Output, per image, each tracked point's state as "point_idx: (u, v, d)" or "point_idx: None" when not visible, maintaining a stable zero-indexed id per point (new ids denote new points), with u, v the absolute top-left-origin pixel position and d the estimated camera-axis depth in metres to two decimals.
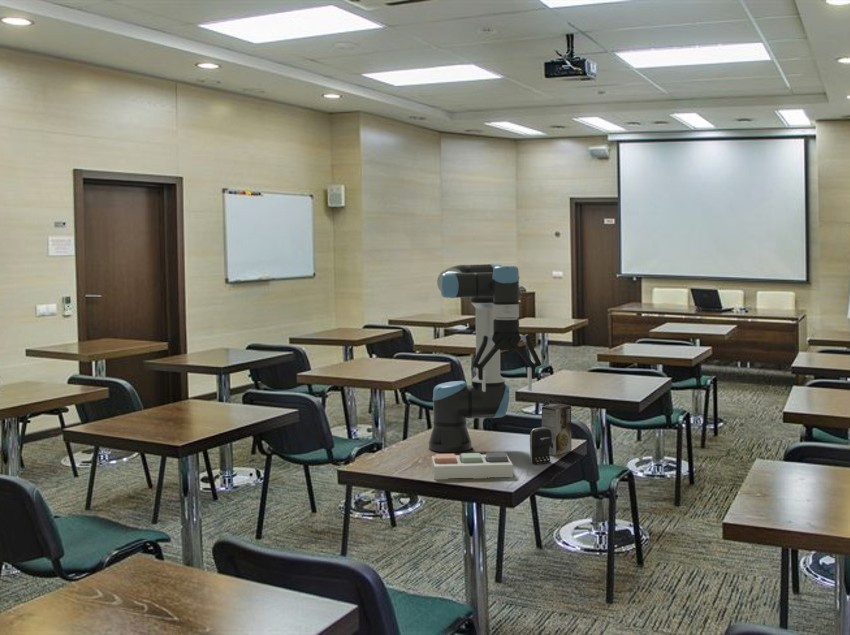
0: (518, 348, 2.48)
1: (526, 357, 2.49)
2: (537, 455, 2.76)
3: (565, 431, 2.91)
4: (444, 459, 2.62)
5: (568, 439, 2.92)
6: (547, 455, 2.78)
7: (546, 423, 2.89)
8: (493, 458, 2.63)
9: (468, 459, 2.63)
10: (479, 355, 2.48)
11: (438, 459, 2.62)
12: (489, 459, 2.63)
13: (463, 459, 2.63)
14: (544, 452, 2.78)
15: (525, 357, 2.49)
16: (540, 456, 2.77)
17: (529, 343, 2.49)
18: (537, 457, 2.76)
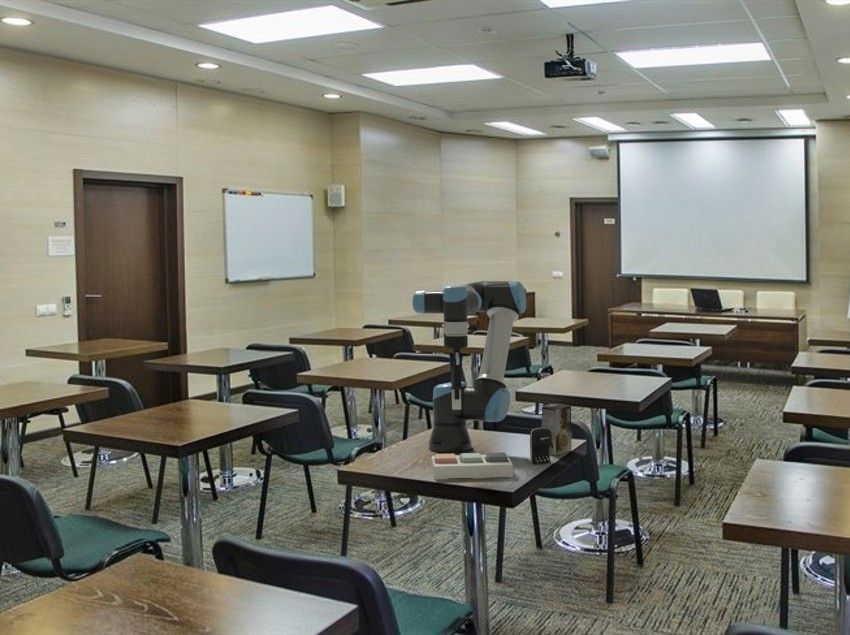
0: (451, 365, 2.67)
1: None
2: (537, 455, 2.76)
3: (565, 431, 2.91)
4: (444, 459, 2.62)
5: (568, 439, 2.92)
6: (547, 455, 2.78)
7: (546, 423, 2.89)
8: (493, 458, 2.63)
9: (468, 459, 2.63)
10: (451, 372, 2.73)
11: (438, 459, 2.62)
12: (489, 459, 2.63)
13: (463, 459, 2.63)
14: (544, 452, 2.78)
15: None
16: (540, 456, 2.77)
17: (453, 365, 2.64)
18: (537, 457, 2.76)
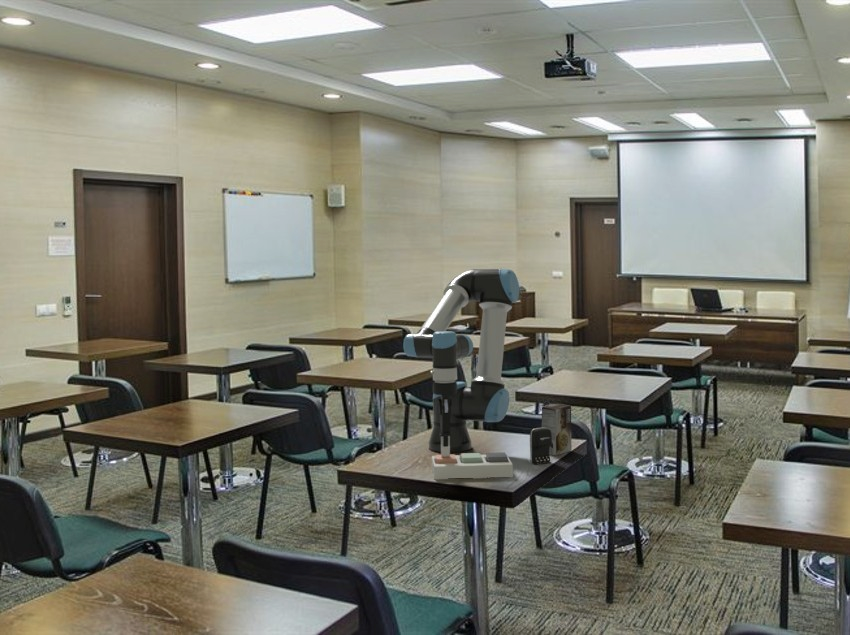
0: (439, 412, 2.63)
1: (441, 423, 2.63)
2: (537, 455, 2.76)
3: (565, 431, 2.91)
4: (444, 460, 2.63)
5: (568, 439, 2.92)
6: (547, 455, 2.78)
7: (546, 423, 2.89)
8: (493, 458, 2.63)
9: (468, 459, 2.63)
10: (440, 419, 2.68)
11: (438, 460, 2.62)
12: (489, 459, 2.63)
13: (463, 459, 2.63)
14: (544, 452, 2.78)
15: (441, 423, 2.63)
16: (540, 456, 2.77)
17: (442, 413, 2.60)
18: (537, 457, 2.76)
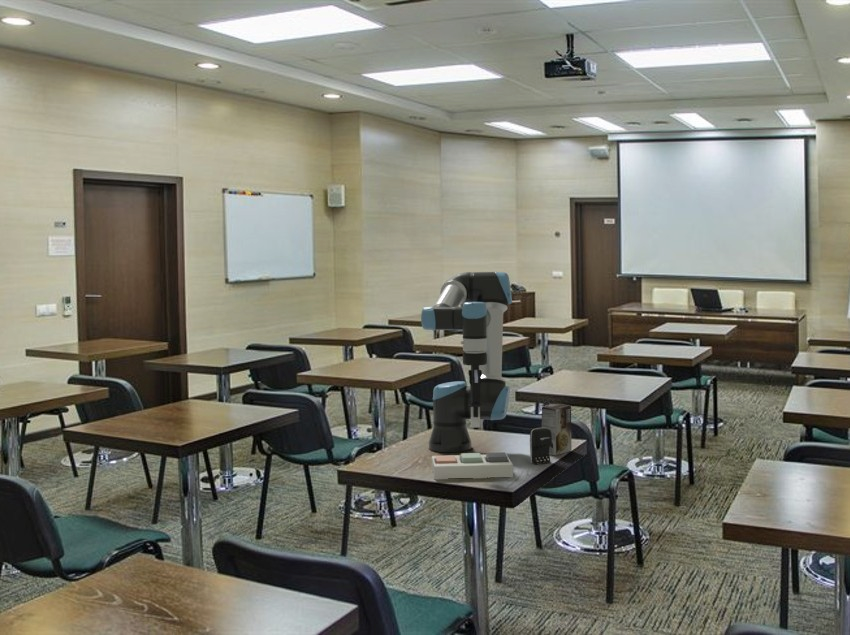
0: (469, 382, 2.63)
1: None
2: (537, 455, 2.76)
3: (565, 431, 2.91)
4: (444, 462, 2.63)
5: (568, 439, 2.92)
6: (547, 455, 2.78)
7: (546, 423, 2.89)
8: (493, 458, 2.63)
9: (468, 459, 2.63)
10: (470, 390, 2.68)
11: (438, 462, 2.62)
12: (489, 459, 2.63)
13: (463, 459, 2.63)
14: (544, 452, 2.78)
15: None
16: (540, 456, 2.77)
17: (472, 383, 2.59)
18: (537, 457, 2.76)
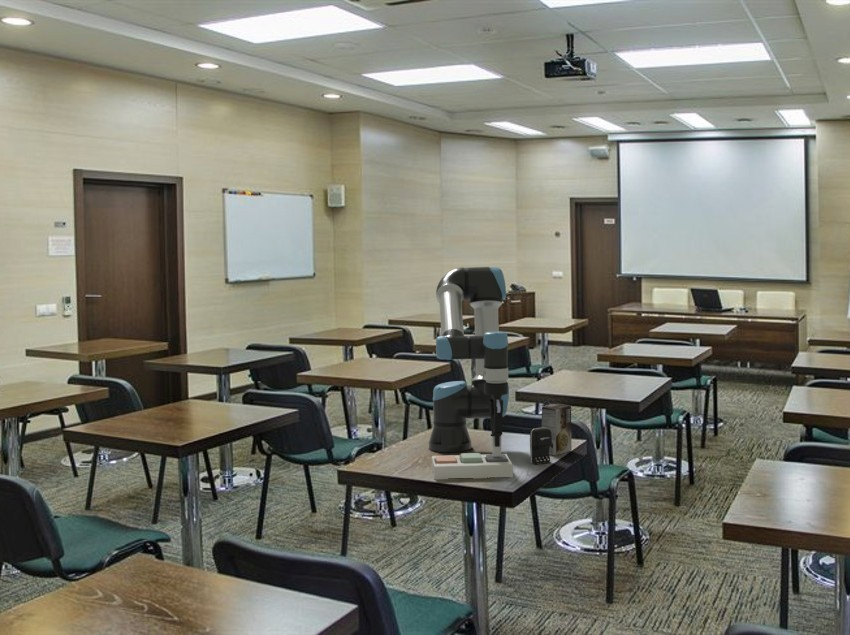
0: (491, 412, 2.64)
1: (493, 423, 2.64)
2: (537, 455, 2.76)
3: (565, 431, 2.91)
4: (444, 462, 2.63)
5: (568, 439, 2.92)
6: (547, 455, 2.78)
7: (546, 423, 2.89)
8: (493, 460, 2.63)
9: (468, 459, 2.63)
10: None
11: (438, 462, 2.62)
12: (489, 461, 2.63)
13: (463, 459, 2.63)
14: (544, 452, 2.78)
15: (493, 423, 2.64)
16: (540, 456, 2.77)
17: (494, 413, 2.60)
18: (537, 457, 2.76)
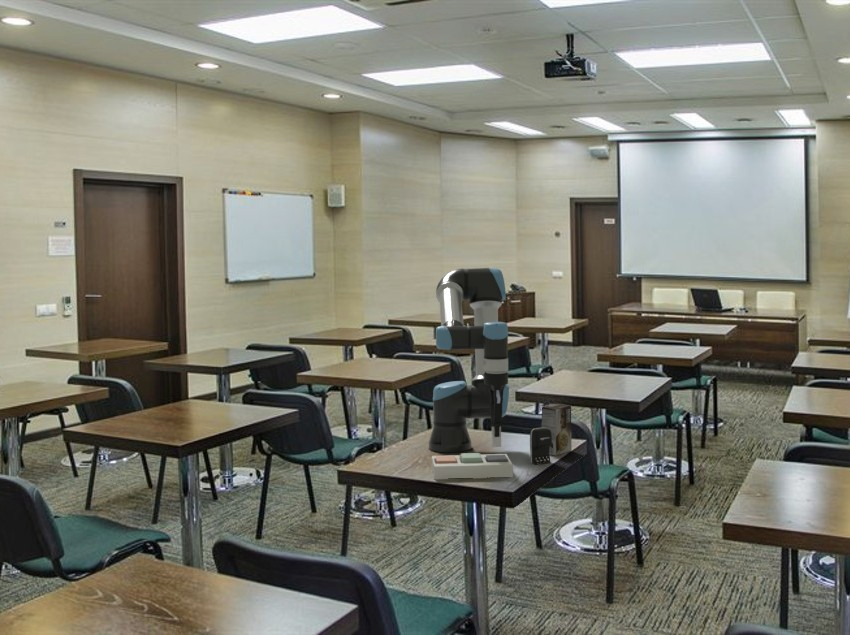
0: (491, 402, 2.64)
1: (492, 414, 2.64)
2: (537, 455, 2.76)
3: (565, 431, 2.91)
4: (444, 462, 2.63)
5: (568, 439, 2.92)
6: (547, 455, 2.78)
7: (546, 423, 2.89)
8: (493, 460, 2.63)
9: (468, 459, 2.63)
10: (490, 409, 2.69)
11: (438, 462, 2.62)
12: (489, 461, 2.63)
13: (463, 459, 2.63)
14: (544, 452, 2.78)
15: (492, 413, 2.64)
16: (540, 456, 2.77)
17: (494, 404, 2.60)
18: (537, 457, 2.76)
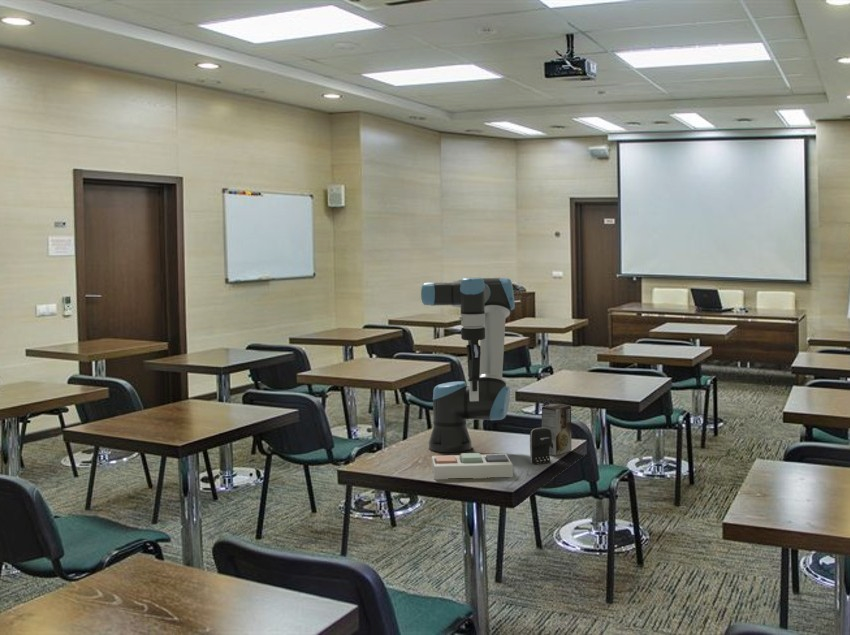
0: (468, 357, 2.67)
1: (470, 369, 2.67)
2: (537, 455, 2.76)
3: (565, 431, 2.91)
4: (444, 462, 2.63)
5: (568, 439, 2.92)
6: (547, 455, 2.78)
7: (546, 423, 2.89)
8: (493, 460, 2.63)
9: (468, 459, 2.63)
10: (468, 365, 2.72)
11: (438, 462, 2.62)
12: (489, 461, 2.63)
13: (463, 459, 2.63)
14: (544, 452, 2.78)
15: (470, 368, 2.67)
16: (540, 456, 2.77)
17: (472, 358, 2.63)
18: (537, 457, 2.76)
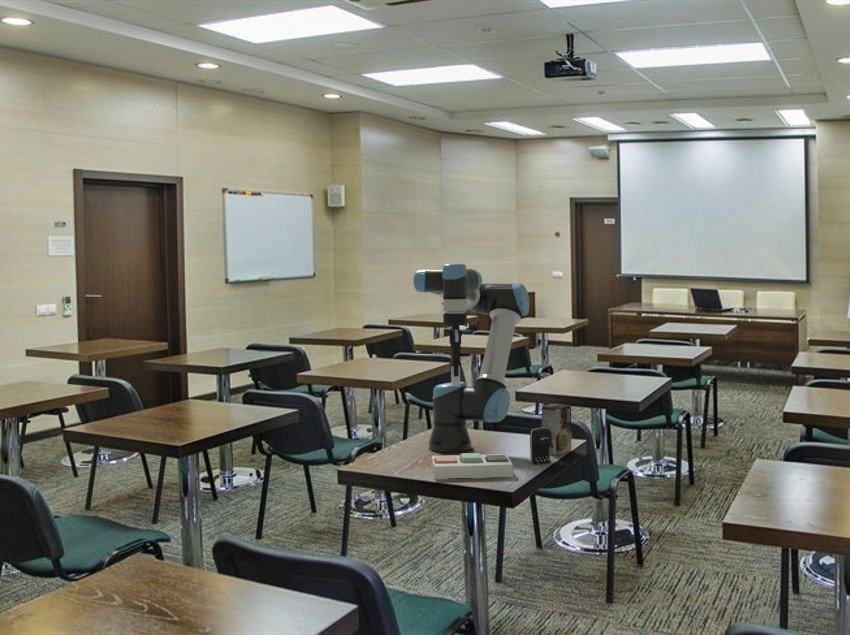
0: (450, 342, 2.69)
1: (452, 354, 2.69)
2: (537, 455, 2.76)
3: (565, 431, 2.91)
4: (444, 462, 2.63)
5: (568, 439, 2.92)
6: (547, 455, 2.78)
7: (546, 423, 2.89)
8: (493, 460, 2.63)
9: (468, 459, 2.63)
10: None
11: (438, 462, 2.62)
12: (489, 461, 2.63)
13: (463, 459, 2.63)
14: (544, 452, 2.78)
15: (452, 353, 2.69)
16: (540, 456, 2.77)
17: (452, 343, 2.65)
18: (537, 457, 2.76)
